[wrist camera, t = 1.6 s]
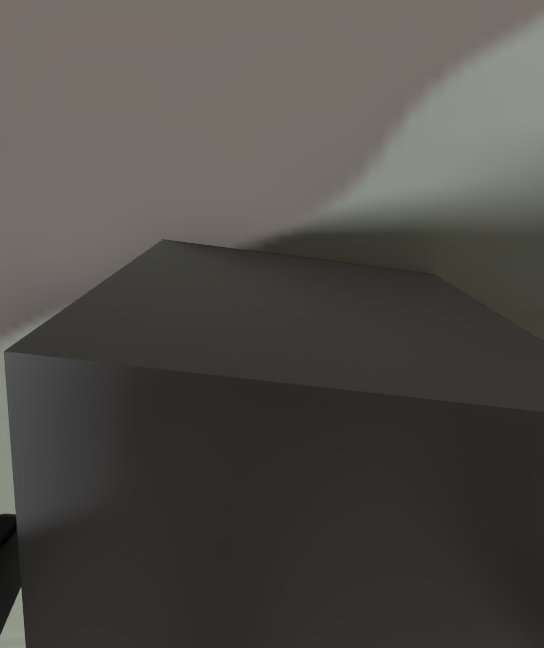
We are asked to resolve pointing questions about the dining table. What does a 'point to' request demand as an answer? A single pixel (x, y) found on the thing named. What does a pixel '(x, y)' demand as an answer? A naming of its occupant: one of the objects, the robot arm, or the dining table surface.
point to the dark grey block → (277, 460)
